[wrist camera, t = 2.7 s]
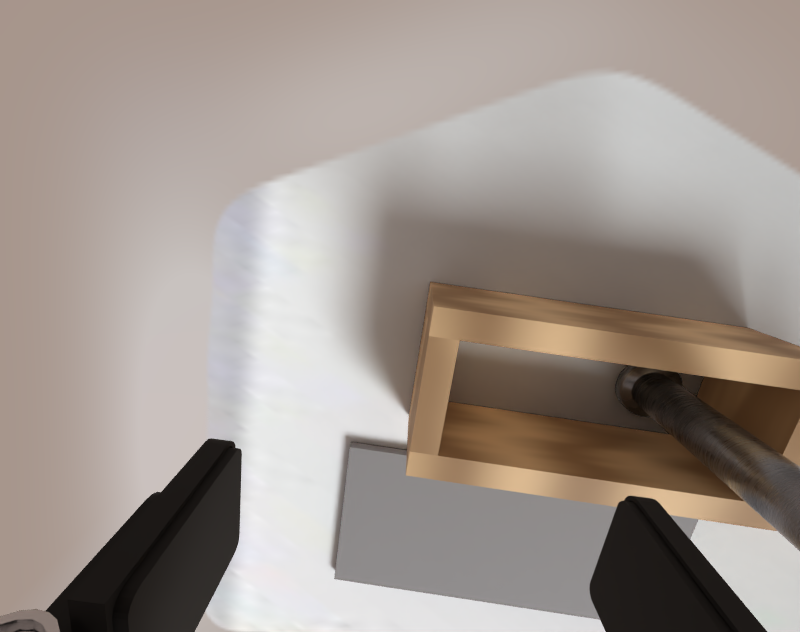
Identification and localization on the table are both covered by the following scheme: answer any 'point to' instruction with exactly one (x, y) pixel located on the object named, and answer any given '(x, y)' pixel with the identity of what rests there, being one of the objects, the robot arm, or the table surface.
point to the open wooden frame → (589, 442)
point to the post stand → (718, 445)
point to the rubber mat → (468, 538)
